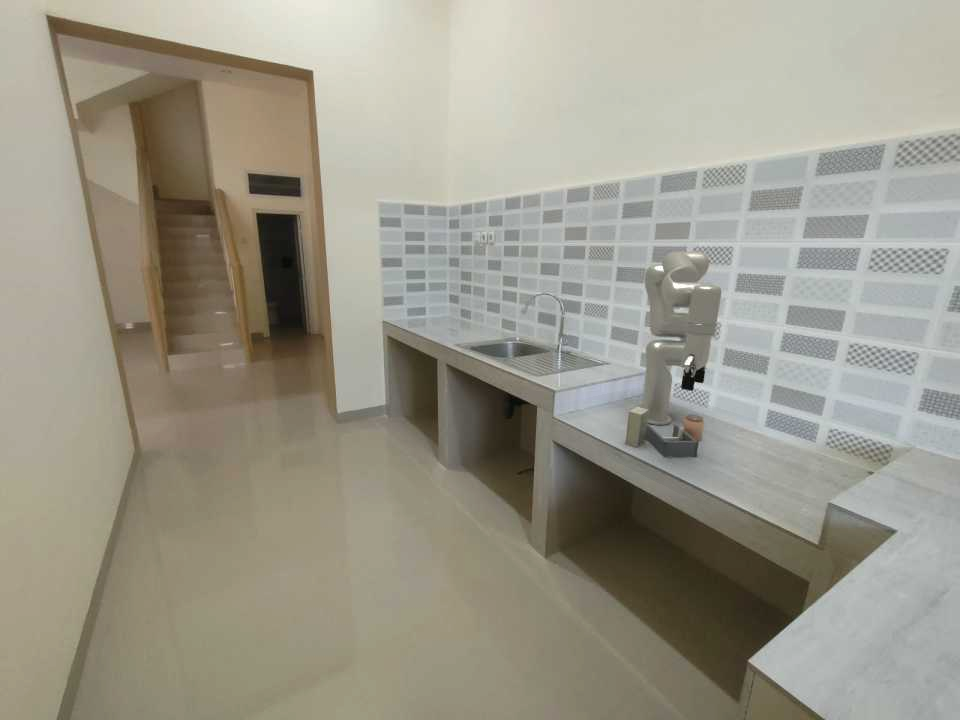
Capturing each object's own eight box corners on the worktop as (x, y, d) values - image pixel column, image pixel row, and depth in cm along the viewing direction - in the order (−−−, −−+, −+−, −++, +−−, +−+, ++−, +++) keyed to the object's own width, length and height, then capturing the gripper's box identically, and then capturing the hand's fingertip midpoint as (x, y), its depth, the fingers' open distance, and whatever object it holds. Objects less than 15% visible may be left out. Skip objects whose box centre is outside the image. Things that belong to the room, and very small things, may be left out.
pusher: (656, 444, 141) (658, 427, 139) (680, 444, 141) (682, 427, 140) (657, 445, 140) (659, 428, 138) (681, 445, 140) (684, 428, 139)
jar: (679, 434, 150) (681, 414, 148) (695, 434, 150) (698, 413, 148) (687, 441, 144) (690, 420, 142) (704, 441, 145) (707, 420, 143)
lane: (644, 438, 147) (646, 424, 145) (674, 437, 147) (676, 424, 146) (663, 456, 133) (665, 442, 132) (696, 456, 134) (698, 442, 132)
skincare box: (633, 438, 146) (636, 406, 143) (645, 442, 143) (649, 409, 140) (624, 443, 142) (628, 410, 139) (637, 448, 139) (641, 414, 136)
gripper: (696, 323, 128) (688, 377, 132) (676, 331, 115) (669, 389, 120) (723, 326, 123) (714, 382, 127) (706, 335, 110) (697, 395, 115)
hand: (692, 385), depth 123 cm, fingers open, 9 cm apart
